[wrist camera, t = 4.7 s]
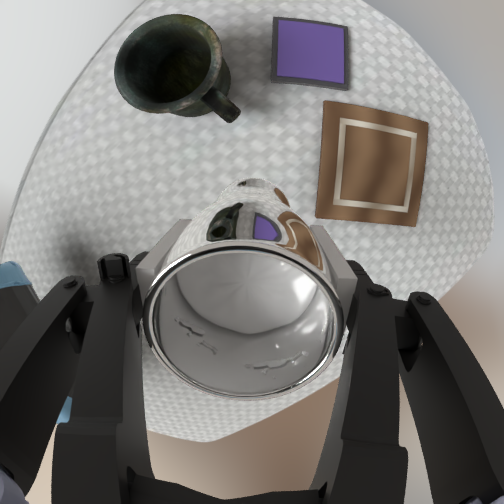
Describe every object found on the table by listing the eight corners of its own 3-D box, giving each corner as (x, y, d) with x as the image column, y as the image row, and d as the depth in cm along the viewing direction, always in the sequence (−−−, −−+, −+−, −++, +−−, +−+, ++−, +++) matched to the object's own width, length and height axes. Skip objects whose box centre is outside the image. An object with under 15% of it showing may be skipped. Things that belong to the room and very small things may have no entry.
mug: (192, 33, 28) (165, -2, 17) (270, 94, 32) (274, 73, 21) (139, 90, 32) (94, 76, 21) (213, 152, 35) (192, 158, 24)
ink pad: (270, 82, 31) (271, 80, 30) (273, 20, 27) (273, 15, 26) (345, 91, 31) (348, 89, 30) (345, 29, 27) (348, 25, 26)
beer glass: (270, 267, 24) (280, 419, 10) (196, 233, 23) (120, 361, 9) (311, 196, 22) (392, 296, 8) (232, 156, 21) (176, 189, 7)
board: (315, 216, 38) (316, 218, 37) (323, 101, 32) (325, 100, 31) (412, 224, 38) (416, 227, 37) (424, 122, 32) (429, 122, 30)
